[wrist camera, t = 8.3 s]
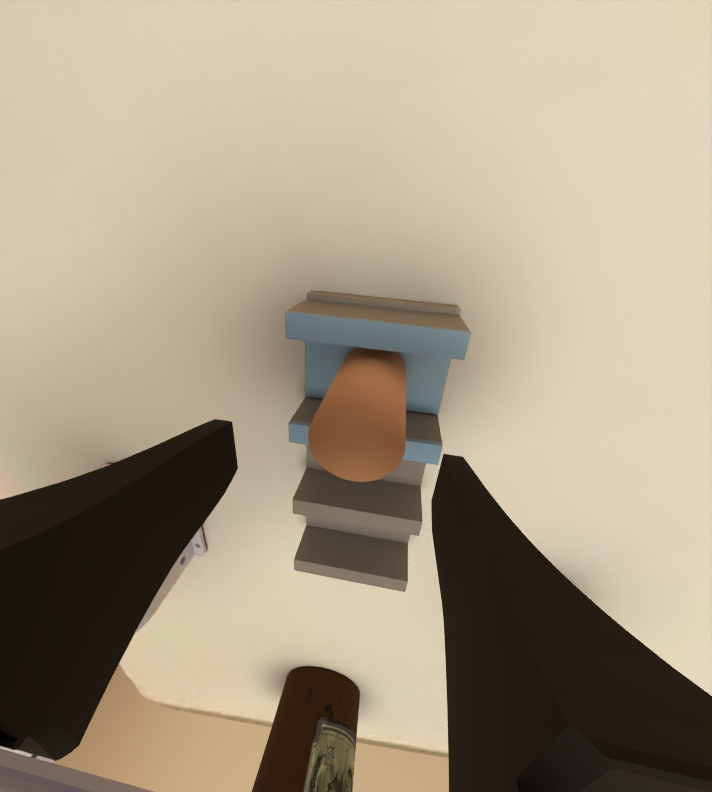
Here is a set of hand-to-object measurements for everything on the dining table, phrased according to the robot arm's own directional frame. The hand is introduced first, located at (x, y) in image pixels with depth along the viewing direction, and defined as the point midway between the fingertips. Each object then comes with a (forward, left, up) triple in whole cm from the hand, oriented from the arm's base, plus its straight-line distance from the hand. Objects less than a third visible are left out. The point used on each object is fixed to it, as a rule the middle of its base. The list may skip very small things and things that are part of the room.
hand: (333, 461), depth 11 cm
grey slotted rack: (-6, -1, -9) cm, 11 cm away
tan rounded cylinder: (0, -1, -8) cm, 8 cm away
